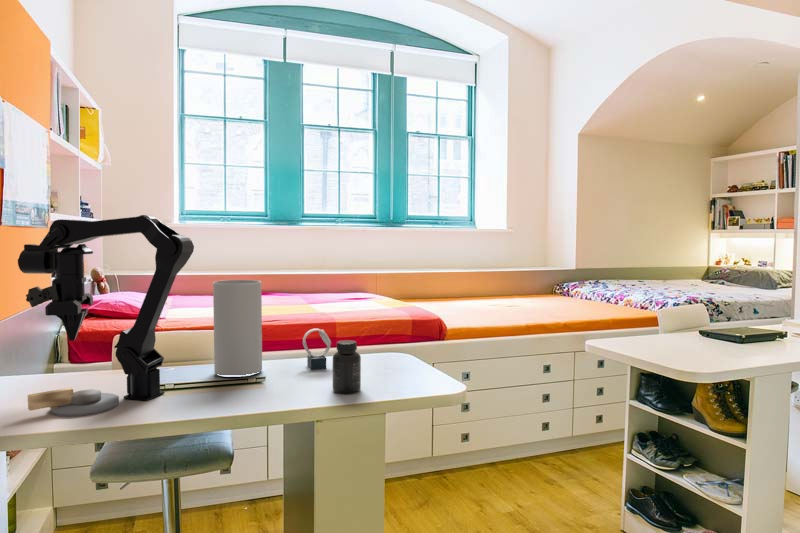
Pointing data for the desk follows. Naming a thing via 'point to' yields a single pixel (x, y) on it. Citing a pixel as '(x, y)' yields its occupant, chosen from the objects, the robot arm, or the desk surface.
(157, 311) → the robot arm
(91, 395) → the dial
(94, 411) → the dial plate
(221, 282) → the cylinder vase
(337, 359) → the supplement bottle
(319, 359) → the watch
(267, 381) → the desk surface
